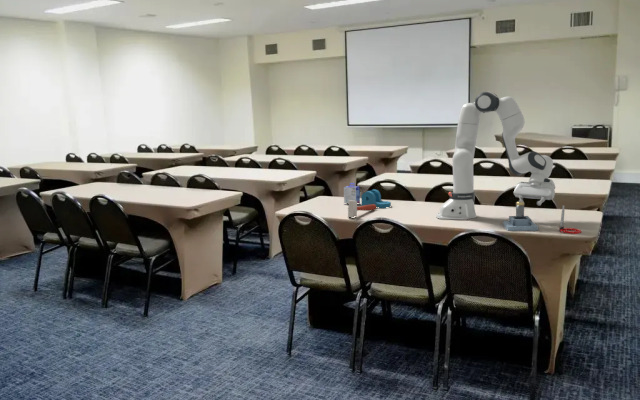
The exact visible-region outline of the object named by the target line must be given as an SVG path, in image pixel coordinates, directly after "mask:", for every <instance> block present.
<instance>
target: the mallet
mask: <svg viewBox="0 0 640 400" xmlns="http://www.w3.org/2000/svg"><path fill="white" fill-rule="evenodd" d="M347 206H348V207H347V218H348V217H354V216H357V215H358V214H357V213H358V211H365V212H366V211H367V212H369V211H370V210H371V211H375V210H376V209H377V208H376V205H375V204H372V205H364V206H362V205H360V206H358V205H357V201H352V200H350V201H349V205H347ZM374 209H375V210H374ZM357 217H358V216H357Z"/></svg>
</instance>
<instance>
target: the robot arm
mask: <svg viewBox="0 0 640 400" xmlns="http://www.w3.org/2000/svg"><path fill="white" fill-rule="evenodd" d="M490 112H495V113H496V114H497V115H498V117H499V120H500V122H501V124H502V125H501V127H502V133H501V137H502V141H503V145H504V149H505V152H506V156H507V161H508V168H509V171H510V173H512V174H514V175H516V176H522V175H525V174H527V173H529V172H530V173H531V175H530V177H529V179H528V181H520V182H519V183H517V184H516V186H515V188H514V191H513V195H514V196H515V198H519V200H518V202H524V199H535V200H536V199H537V201H536V205H537V206H541V205H542V203H544V202H545V201H546V200H547V201H551V200H553V199H554V198H555V196H556V195H555V193H556V184H555V183H554V180H552V179H551V178H549V177H550V176H551V173H552V171H553V168H554V160H553V159H552V158H551V157H550V156H549V155H545V154H543V155H542V154H541V153H538V152H537V151H532V150H531V151H529V152H526V153H524V154H522V155H519V152H518V151H519V150H518V148H517V144H516V137H517V136H518V135H519V133H520V132H521V131H522V130H523V128H524V126H525V118H524V115H523V113H522V111H521V109H520V106H519V104H518V103H517V102H516V100H515V98H513V96H511V95H509V96H503V97H500V98H499V97H498V95H497V94H496V93H495V92H491V91H483V92H480V93H478V95H477V96H476V98H475V100H474V102H467V103H464V104H463V105H462V107H461V109H460V112H459V116H458V121H457V128H456V136H455V146H454V152H453V155H452V181H453V186H452V187H453V188H452V189H453V191H449V192H448V196H449V199H448V200H446V201H445V202H444V203H442V204H441V205H440V208H439V212H437V213H435V218H436V217H437V219H438V218H439V220H459V221H460V220H461V221H462V220H463V221H464V220H467V221H468V220H469V219H470V220H471V219H475V218H476V217H477V213H476V209H475V191H474V182H475V181H474V180H475V179H474V160H475V158H474V157H475V151H476V144H477V139H478V138H477V137H478V131H479V123H480V118H481V116H482V114H485V113H490Z"/></svg>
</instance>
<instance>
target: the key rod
mask: <svg viewBox="0 0 640 400" xmlns="http://www.w3.org/2000/svg"><path fill="white" fill-rule="evenodd" d="M515 216H516V219H524V216H525V202H524V201H523V202H519V201H516V202H515Z"/></svg>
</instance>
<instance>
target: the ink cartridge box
mask: <svg viewBox="0 0 640 400" xmlns="http://www.w3.org/2000/svg"><path fill="white" fill-rule="evenodd" d="M360 192H361V191H360V186H359V185H357V186H356V183H355V182H349V186H348V185H347V186H343V204H344V203H349V201H350V200H352V201H357V203H360V204H361V195H360V194H361V193H360Z"/></svg>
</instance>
